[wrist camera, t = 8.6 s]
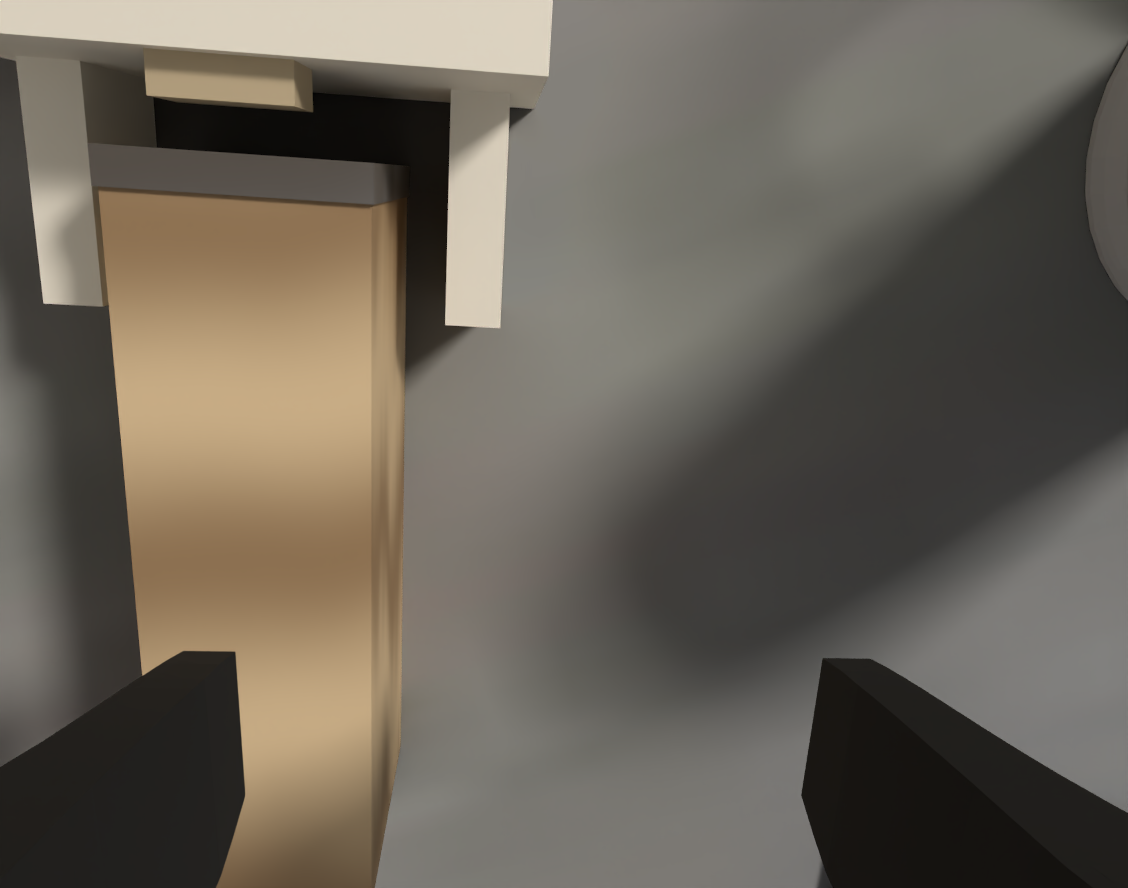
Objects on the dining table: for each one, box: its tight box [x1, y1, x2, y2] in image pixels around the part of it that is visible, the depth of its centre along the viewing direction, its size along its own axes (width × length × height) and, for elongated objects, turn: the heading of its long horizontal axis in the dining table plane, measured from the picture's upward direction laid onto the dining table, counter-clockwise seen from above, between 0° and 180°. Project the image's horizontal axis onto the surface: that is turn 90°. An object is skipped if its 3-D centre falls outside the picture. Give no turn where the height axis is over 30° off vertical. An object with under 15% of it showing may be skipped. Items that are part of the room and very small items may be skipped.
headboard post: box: [0, 0, 553, 328], centre depth 14 cm, size 6×9×6 cm
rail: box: [87, 143, 410, 888], centre depth 17 cm, size 14×4×5 cm, turn 176°
